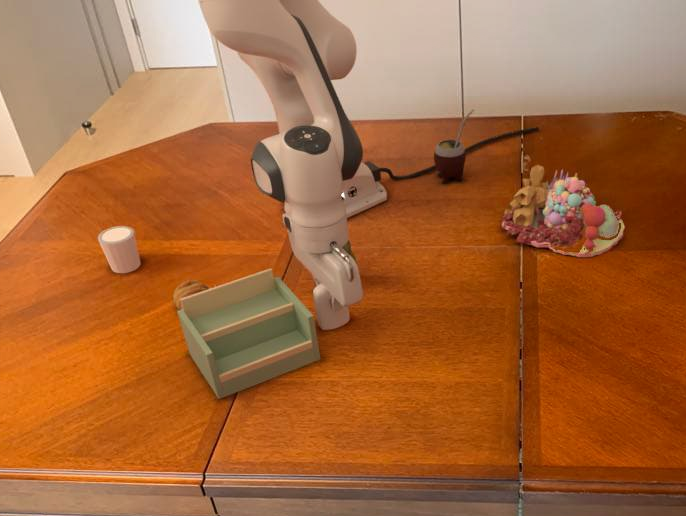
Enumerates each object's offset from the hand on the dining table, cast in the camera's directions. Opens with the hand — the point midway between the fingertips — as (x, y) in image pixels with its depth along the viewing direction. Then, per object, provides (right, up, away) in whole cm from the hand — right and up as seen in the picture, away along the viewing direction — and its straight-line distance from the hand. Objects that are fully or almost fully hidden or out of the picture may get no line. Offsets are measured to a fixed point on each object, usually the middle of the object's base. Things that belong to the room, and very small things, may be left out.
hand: (330, 301), depth 139 cm
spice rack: (-12, -10, -3) cm, 16 cm away
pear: (+1, +5, +13) cm, 14 cm away
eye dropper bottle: (0, -4, +3) cm, 5 cm away
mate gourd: (+22, +33, +43) cm, 59 cm away
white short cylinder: (-43, +10, +20) cm, 49 cm away
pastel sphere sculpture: (+44, +19, +26) cm, 55 cm away
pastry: (-26, 0, +9) cm, 27 cm away
